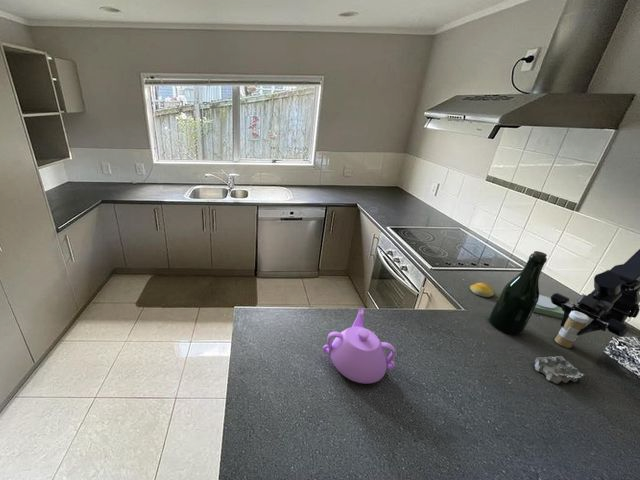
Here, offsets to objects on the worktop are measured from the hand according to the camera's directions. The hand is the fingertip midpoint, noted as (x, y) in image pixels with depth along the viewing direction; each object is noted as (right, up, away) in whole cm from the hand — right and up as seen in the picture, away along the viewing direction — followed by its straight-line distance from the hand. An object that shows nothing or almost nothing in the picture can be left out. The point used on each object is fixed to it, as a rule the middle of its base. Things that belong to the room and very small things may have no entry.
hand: (569, 330), depth 100 cm
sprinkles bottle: (+1, -6, +3) cm, 7 cm away
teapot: (-79, -7, -7) cm, 80 cm away
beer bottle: (-14, -2, +11) cm, 18 cm away
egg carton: (-15, -11, -9) cm, 20 cm away
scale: (+11, +2, +23) cm, 26 cm away
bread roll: (-7, +6, +31) cm, 32 cm away
